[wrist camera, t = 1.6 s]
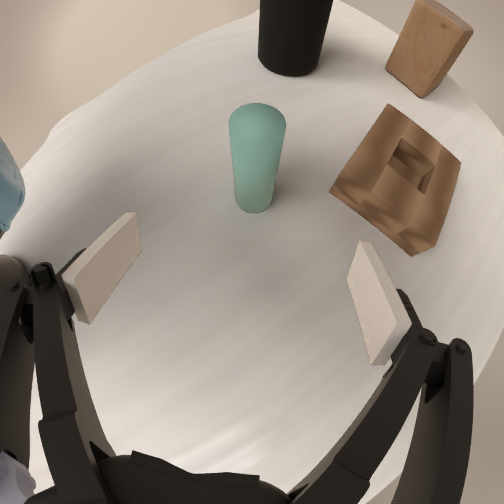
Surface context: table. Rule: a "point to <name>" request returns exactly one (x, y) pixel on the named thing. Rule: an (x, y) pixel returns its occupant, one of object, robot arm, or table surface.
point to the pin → (255, 154)
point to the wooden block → (427, 46)
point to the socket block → (400, 181)
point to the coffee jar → (292, 34)
